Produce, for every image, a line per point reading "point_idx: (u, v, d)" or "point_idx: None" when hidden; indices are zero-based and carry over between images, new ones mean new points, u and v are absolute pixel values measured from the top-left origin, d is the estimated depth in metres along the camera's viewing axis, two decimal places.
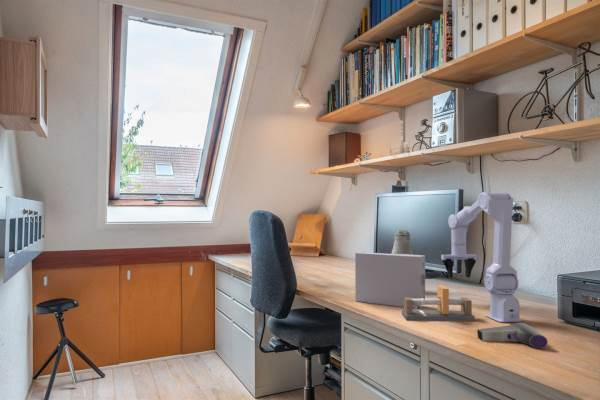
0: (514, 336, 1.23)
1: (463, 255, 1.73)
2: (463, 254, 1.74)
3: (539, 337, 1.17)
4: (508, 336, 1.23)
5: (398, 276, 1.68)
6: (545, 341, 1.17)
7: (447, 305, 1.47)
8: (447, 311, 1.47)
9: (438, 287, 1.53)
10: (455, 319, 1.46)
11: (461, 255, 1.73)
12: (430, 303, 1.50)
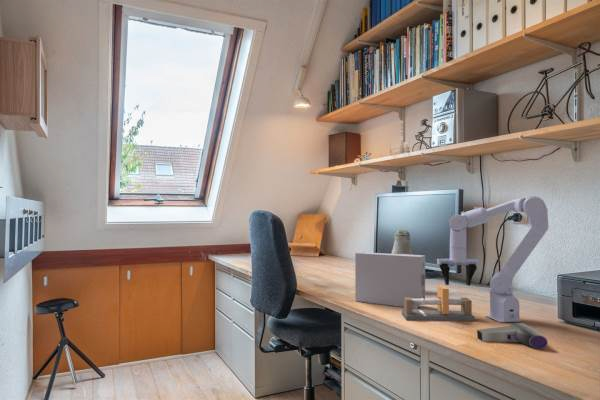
0: (514, 336, 1.22)
1: (461, 260, 1.54)
2: (461, 259, 1.54)
3: (539, 338, 1.17)
4: (508, 336, 1.23)
5: (398, 276, 1.68)
6: (545, 342, 1.16)
7: (447, 305, 1.47)
8: (447, 311, 1.47)
9: (438, 287, 1.53)
10: (455, 319, 1.46)
11: (459, 260, 1.54)
12: (430, 303, 1.50)
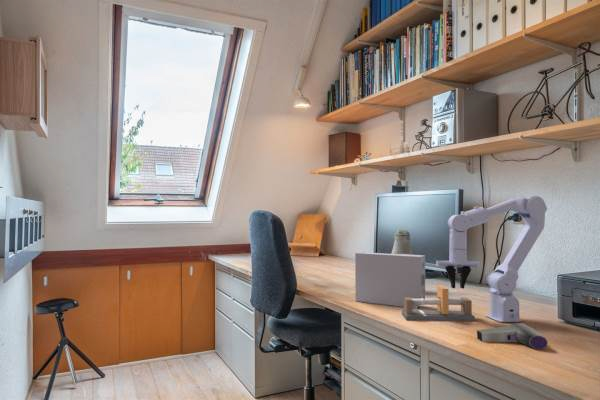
0: (514, 337, 1.22)
1: (461, 262, 1.48)
2: (461, 261, 1.48)
3: (539, 338, 1.17)
4: (508, 337, 1.22)
5: (398, 276, 1.68)
6: (545, 342, 1.16)
7: (447, 305, 1.47)
8: (447, 311, 1.47)
9: (438, 287, 1.53)
10: (455, 319, 1.46)
11: (459, 262, 1.48)
12: (430, 303, 1.50)
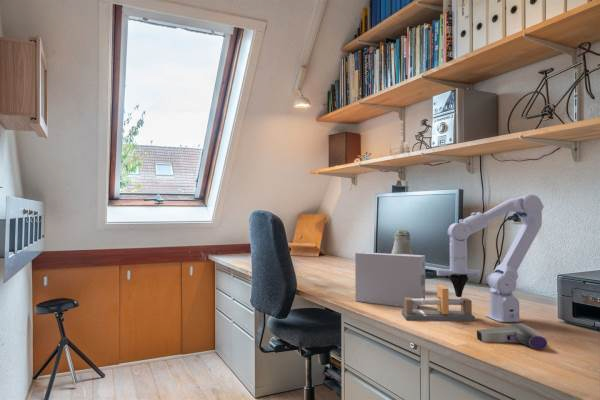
0: (514, 337, 1.22)
1: (462, 271, 1.48)
2: (462, 270, 1.48)
3: (539, 338, 1.16)
4: (508, 337, 1.22)
5: (398, 276, 1.68)
6: (545, 342, 1.16)
7: (447, 305, 1.47)
8: (447, 311, 1.47)
9: (438, 287, 1.53)
10: (455, 319, 1.46)
11: (459, 271, 1.48)
12: (430, 303, 1.50)
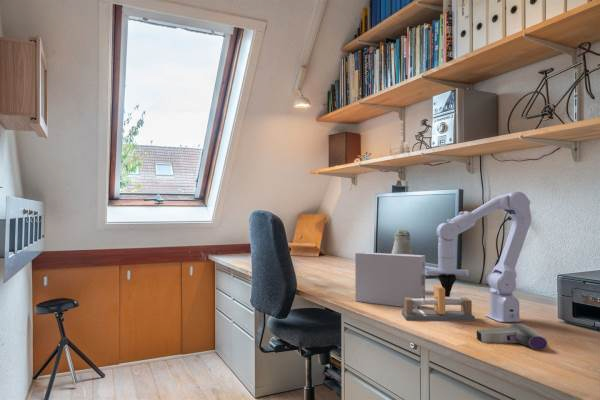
0: (513, 337, 1.21)
1: (450, 271, 1.48)
2: (450, 270, 1.48)
3: (539, 338, 1.16)
4: (507, 337, 1.22)
5: (398, 276, 1.68)
6: (545, 342, 1.16)
7: (443, 305, 1.47)
8: (443, 311, 1.47)
9: (435, 287, 1.53)
10: (455, 319, 1.46)
11: (447, 271, 1.48)
12: (430, 303, 1.50)
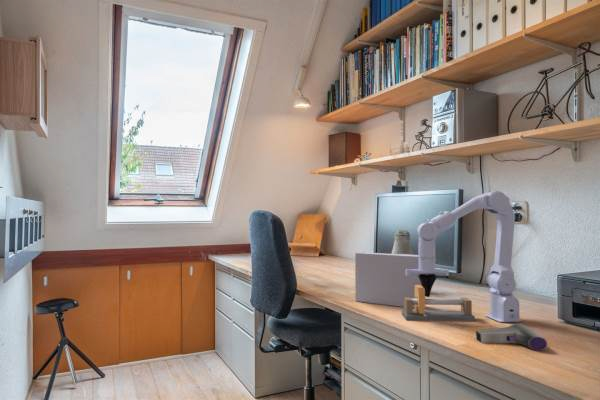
0: (513, 338, 1.21)
1: (430, 271, 1.48)
2: (430, 269, 1.48)
3: (538, 339, 1.15)
4: (507, 338, 1.21)
5: (398, 276, 1.68)
6: (544, 343, 1.15)
7: (423, 305, 1.47)
8: (423, 311, 1.47)
9: (415, 287, 1.53)
10: (455, 319, 1.46)
11: (427, 271, 1.48)
12: (430, 303, 1.50)
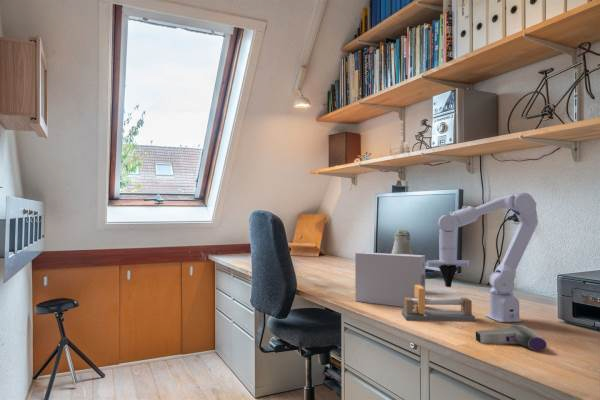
0: (513, 338, 1.21)
1: (451, 261, 1.51)
2: (451, 260, 1.51)
3: (538, 340, 1.15)
4: (507, 338, 1.21)
5: (398, 276, 1.68)
6: (544, 344, 1.15)
7: (423, 305, 1.47)
8: (423, 311, 1.47)
9: (415, 287, 1.53)
10: (455, 319, 1.46)
11: (448, 261, 1.51)
12: (430, 303, 1.50)
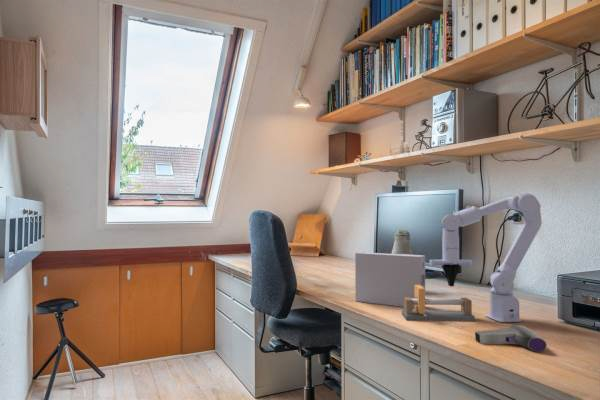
0: (512, 339, 1.20)
1: (454, 261, 1.52)
2: (454, 260, 1.52)
3: (538, 340, 1.14)
4: (506, 339, 1.20)
5: (398, 276, 1.68)
6: (544, 344, 1.14)
7: (423, 305, 1.47)
8: (423, 311, 1.47)
9: (415, 287, 1.53)
10: (455, 319, 1.46)
11: (451, 261, 1.52)
12: (430, 303, 1.50)
